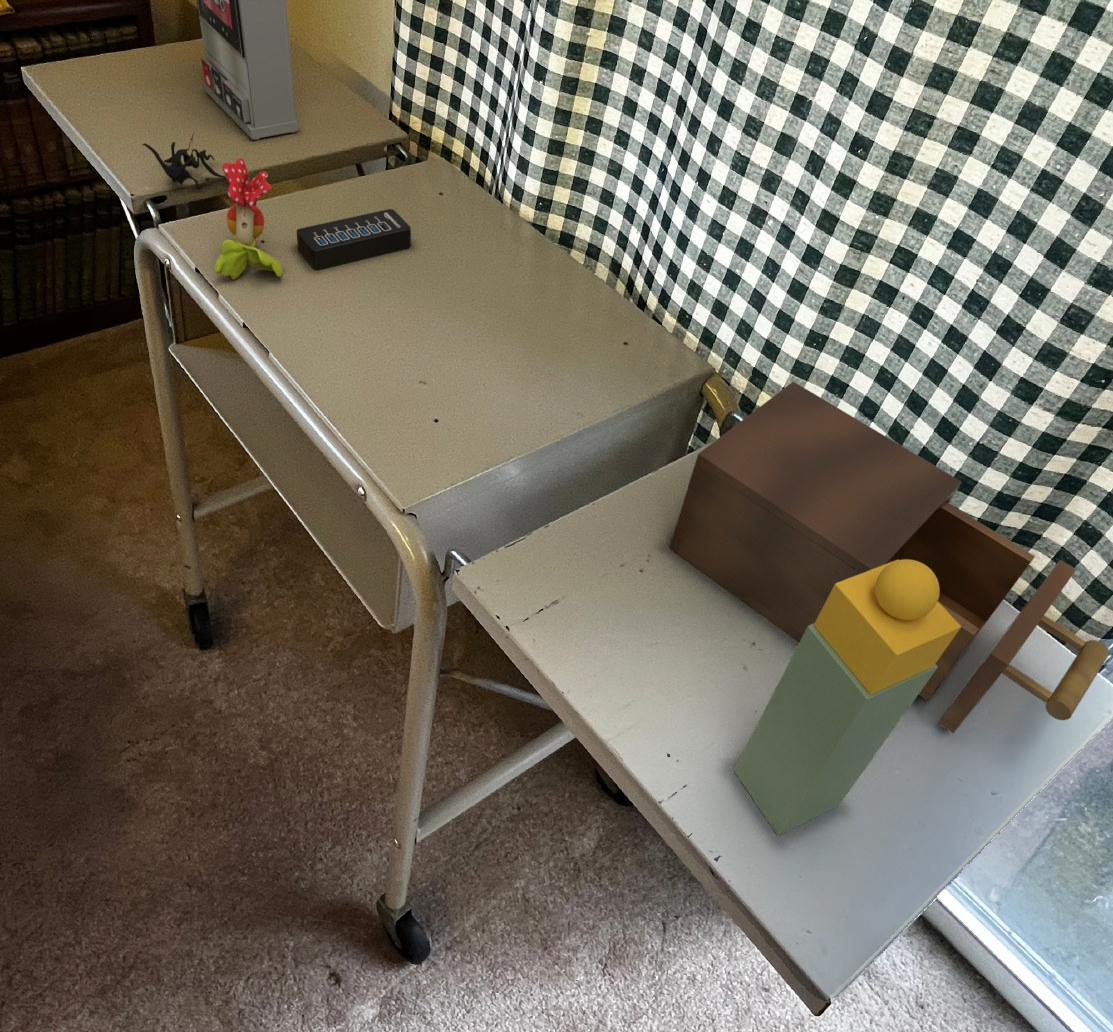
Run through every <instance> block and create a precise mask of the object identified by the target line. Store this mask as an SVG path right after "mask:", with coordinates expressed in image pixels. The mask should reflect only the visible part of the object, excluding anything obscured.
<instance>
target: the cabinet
mask: <svg viewBox="0 0 1113 1032" xmlns="http://www.w3.org/2000/svg"><path fill="white" fill-rule="evenodd" d="M693 466H694V467H693V470H692V473H691V476H690V479H689V482H688V485H687V489H686V493H685V496H684V499H683V502H682V505H681V509H680V512H679V515H678V517H677V521H676V525H675V528H674V531H673V535H672V538H671V541H670V545H669V549H670V550H672V551H673V552H675V554H677V555H679V556H680V557H681V558H683V559H684V560H686V561H687V562H688V563H690V564H691V565H692V566H693V567H695V568H696V569H698V570H699V571H701V572H702V573H703V574H704V575H706V576H708V578H710V579H711V580H713V581H714V582H716V583H717V584H719V585H720V586H722V588H724V589H725V590H727V591H728V592H729V593H731V594H733V595H734V596H735V597H737V598H738V599H740V600H741V601H742V602H743V603H745V604H746V605H748V606H749V607H751V608H752V609H753V610H755V611H756V612H757V613H758V614H760V615H761V616H763V617H764V618H766V619H767V620H768V621H770V622H771V623H773V624H774V625H775V626H777V627H778V628H779V629H781V630H782V631H783V632H785V633H786V634H787V635H789V636H790V637H792V638H793V639H794V640H796V641H797V642H798V643H799V642H800V640H801V638H802V636H803V635H804V633H805V631H806V629H807V627H808V626H809V625H811V624H814V623H815V621H816V620H817V618H818V616H819V614H820V612H821V610H822V608H823V606H824V604H825V602H826V600H827V598H828V597H829V595H830V593H831V591H832V589H833V587H834V585H835V584H836V583H838V582H840V581H843V580H846V579H848V578H851V577H853V576H856V575H859V574H861V573H864V572H866V571H869V570H872V569H874V568H877V567H880V566H882V565H885V564H887V563H890V562H891V561H892V560H893V559H894V557H895V556H896V555H897V554H898V553H899V552H900V551H901V550H902V549H903V548H904V547H905V546H906V545H907V543H908V542H909V541H910V540H911V539H912V538H913V537H914V536H915V535H916V534H917V533H918V532H919V531H920V529H921V528H922V527H923V526H924V525H925V524H926V523H927V522H928V521H929V520H930V519H931V518H932V517H933V515H934V514H935V513H936V512H937V511H938V510H939V509H940V508H941V507H942V506H943V505H944V504H945V503H946V502H947V503H948V504H950V503H951V501H952V499H953V498H954V496H955V495H956V493H957V491H958V489H959V488H960V486H961V485H962V480H960V479H958V478H957V477H955V476H953V475H951V474H950V473H948V472H946V471H944V470H943V469H941V468H939V467H938V466H936V465H934V464H933V463H931V462H929V461H928V460H927V459H925V458H923V457H921V456H920V455H917V454H916V453H915V452H913V451H911V450H909V449H907V448H906V447H905V446H903V445H901V444H899V443H897V442H896V441H894V440H893V439H891V438H889V437H888V436H886V435H884V434H883V433H880V432H879V431H878V430H876V429H874V428H873V427H871V426H869V425H867V424H866V423H864V422H862V421H861V420H859V419H858V418H856V417H854V416H852V415H851V414H849V413H847V412H846V411H844V410H842V409H840V408H839V407H837V406H835V405H834V404H832V403H830V402H829V401H827V400H826V399H824V398H822V397H820V396H819V395H817V394H815V393H814V392H812V391H811V390H809V389H807V388H805V387H804V386H802V385H800V384H798V383H796V381H792V382H790V383H789V384H788V385H786V386H785V387H783V388H782V389H781V390H780V391H779V392H778V393H776V394H775V395H774V396H772V397H771V398H769V399H768V400H767V401H766V402H764V403H763V404H762V405H760V406H759V407H758V408H756V409H755V410H754V411H752V412H751V413H750V414H749V415H747V416H746V417H744V418H743V419H742V420H741V421H739V422H738V423H737V424H735V425H734V426H733V427H731V428H730V429H729V430H727V431H726V432H724V433H723V434H722V435H721V436H719V437H718V438H716V439H715V441H713V442H711V443H710V444H709V445H708V446H707V447H705V448H704V449H702V450H701V451H699V453H697V457H696V460H695V463H694V465H693Z"/></svg>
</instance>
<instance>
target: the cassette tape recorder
mask: <svg viewBox="0 0 1113 1032" xmlns="http://www.w3.org/2000/svg"><path fill="white" fill-rule="evenodd" d="M196 6H197V7H196V8H197V13H198V17H199V18H198V19H199V24H200V31H201V39H202V45H203V52H204V59H205V60H204V59H203V58H202V57H201V58H200V59H201V66H202V72H203V80H204V81H203V86H204V87H203V88H204V91H205V93H207V94H208V96H209V97H210V98H211V99H212V100H213V101H214V102H215V103H216V104H217V105H218V106H219V107H220V108H221V109H222V111H224V112H225V113H226V114H227V115H228V116H229V117H230V119H231V120H232V121H233V122H235V124H237V126H238V127H239V128H241V130H242V131H243V132H244V133H245V134H246V135H247V136H248V137H249V138H250V139H251V140H254V141H258V140H260V139H262V138H266V137H272V136H278V135H283V134H288V133H290V134H294V133H296V132H299V120H297V113H296V101H295V100H296V99H295V89H294V88H295V87H294V78H293V65H292V54H291V43H290V41H291V40H290V30H289V29H290V28H289V19H288V18H289V17H288V7H287V0H196Z"/></svg>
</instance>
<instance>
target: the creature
mask: <svg viewBox="0 0 1113 1032" xmlns="http://www.w3.org/2000/svg"><path fill="white" fill-rule="evenodd" d="M194 134H195V131H193V132H192V135H191V138H190V141H189V143H188V148H181V149H178V150H176V152H175V147H176V141H173V142H172V143H171V145H170V151H171V157H169V158H167V159H164V160H163V159H162V158H161V156H160V154H159V153H158V151H156V150H155V149H154V148H153V147H152V146H151V145H149V144H147V143H142V145H141V146H144V147H146V148H147V149H148V150H150V152H152V153H153V155H154V157H155V158H156V161H157V162H158V163H159V164H160V166H161V167H162V169H163V170H164V172H165V174H166V175H167V176H168V177H169V178H170V179H171V181H172V182H177V183H179V184H180V185H181V186H183V184H184V182H185V181H186V180H188V179H191V180H193V181H194V182H195V185H196V187H197V188H198V189H201V188H202V187H203V185H205V184H206V182H202V183H201V184H199V181H198V180H197V179H196V178H194V176H192V175H191V174H190V173H189V171H188V170H187V168H189V167H192V168H193V169H195V170H197V169H199V167H200V162H201V164H202V165H203V167H204V168H205V169H206V171H208V172H209V174H211V175H212V176H214V177H206V178H204V179H205V180H206V181H209V180H213V179H214V180H215V179H216V180H217V179H219V180H220V179H221V180H222V179H223V180H228V179H227V178H226V176H225V175H222V174H220V173H217V172H216V171H215V170H214V169H213V168H212V167H211V166H210V165H209V164H208V163H207V162H206V161H209V160H210V159H212V160H213V161H215V158H214V157H213V155H212V154H208V155H207V150H206V149H203V150H200V151H199V150H198V149H196V148H192V149H191V153H190V154H189V153H188V151H189V150H190V147H191V146H190V145H191V144H192V141H193V139H194ZM194 152H195V156H194V154H193V153H194ZM182 158H183V162H182ZM167 164H170V165H167Z"/></svg>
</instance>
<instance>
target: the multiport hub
mask: <svg viewBox="0 0 1113 1032" xmlns="http://www.w3.org/2000/svg"><path fill="white" fill-rule="evenodd" d="M411 239H412V227H411V225H410V224H408V222H407V221H406V220H405V219H404V218H403V217H401V215H400V214H399V213H398V212H397V211H396V210H394V209H393V208H387V209H383V210H378V211H374V212H370V213H365V214H359V215H355V216H350V217H346V218H342V219H337V220H333V221H328V222H323V223H319V224H314V225H310V226H306V227H300V228H298V229H296V241H297V242H296V243H297V252H298V253H299V254H300V255H301V256H302V257H303V258H304V260H305V261H306V262H307V264H308V265H309V266H310V267H311V268H312V269H313V270H315V271H321V270H325V269H329V268H334V267H337V266H342V265H345V264H349V263H354V262H359V261H363V260H366V259H371V258H375V257H377V256H383V255H387V254H391V253H396V252H399V251H404V250H408V249H410V248H411V246H412V245H411V243H412V240H411Z"/></svg>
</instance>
